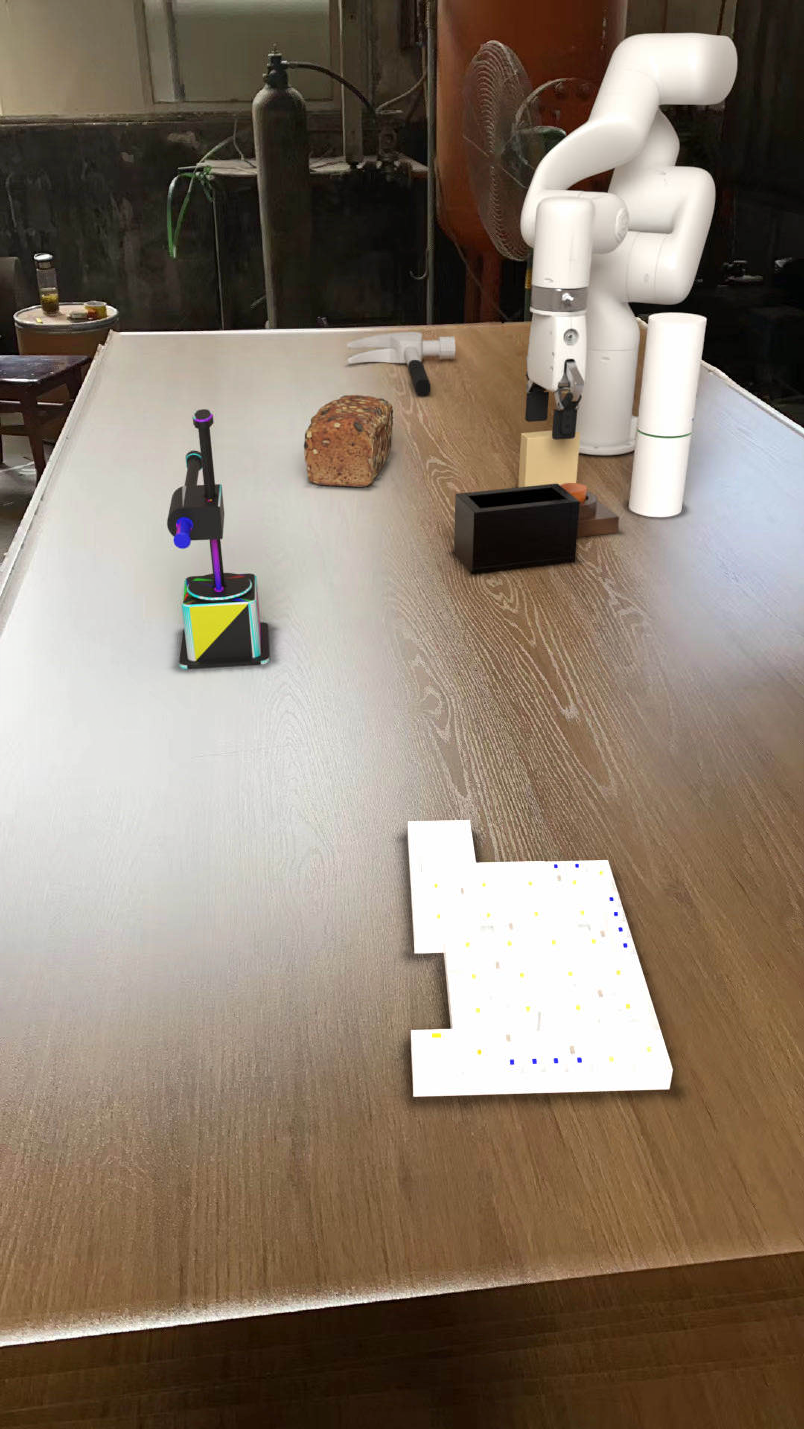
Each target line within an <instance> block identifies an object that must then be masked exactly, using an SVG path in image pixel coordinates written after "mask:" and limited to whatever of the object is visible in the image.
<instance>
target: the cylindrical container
mask: <svg viewBox="0 0 804 1429" xmlns="http://www.w3.org/2000/svg"><path fill="white" fill-rule="evenodd" d="M707 320H708V319H707V317H705V316H703V315H701V314H694V313H688V312H686V313H685V312H660V313H659V312H658V313H653V314H651V315H649V316H648V320H647V322H648V323H647V330H646V340H645V348H644V349H645V350H644V357H643V366H642V367H643V368H642V377H641V385H640V394H639V396H640V397H639V405H638V416H637V417H638V423H637V432H636V442H635V450H634V454H633V461H632V472H631V482H630V491H629V499H628V500H629V501H628V509H629V510H630V511H631V512H633V513H635V514H637V515H641V516H644V517H645V516H646V517H652V518H669V517H673V516H677V515H679V514H680V513H681V512H682V509H683V501H684V495H685V486H686V478H687V470H688V464H689V457H690V448H691V441H692V433H693V428H694V427H693V426H694V419H695V411H696V404H697V396H698V389H699V388H698V387H699V380H700V373H701V372H700V371H701V365H702V356H703V350H704V342H705V335H706V334H705V333H706V326H707Z"/></svg>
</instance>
